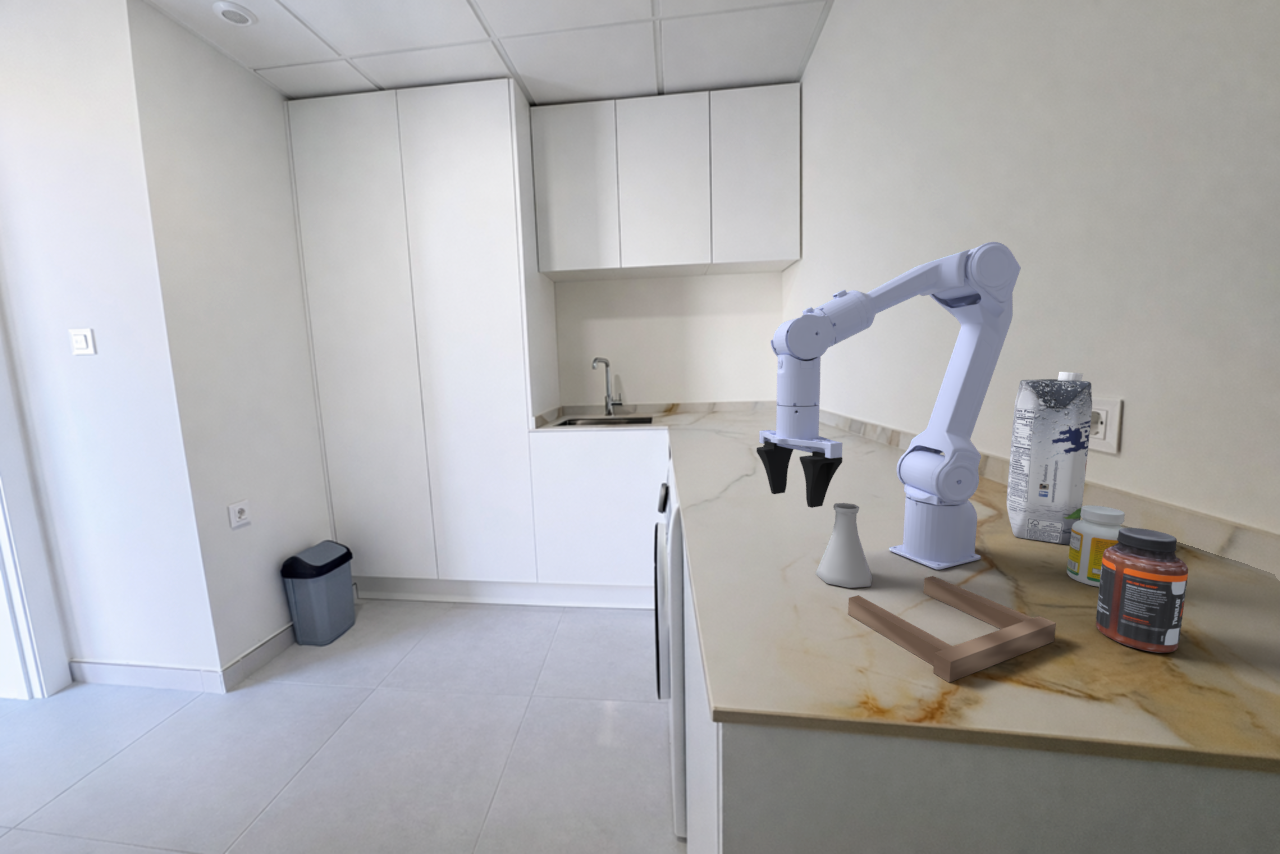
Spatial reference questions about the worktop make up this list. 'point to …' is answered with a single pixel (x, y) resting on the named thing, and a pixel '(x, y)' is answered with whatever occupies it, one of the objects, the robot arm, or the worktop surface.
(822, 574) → the flask
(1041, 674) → the worktop surface
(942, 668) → the walnut bay
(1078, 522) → the supplement bottle
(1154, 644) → the supplement bottle
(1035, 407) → the juice carton
